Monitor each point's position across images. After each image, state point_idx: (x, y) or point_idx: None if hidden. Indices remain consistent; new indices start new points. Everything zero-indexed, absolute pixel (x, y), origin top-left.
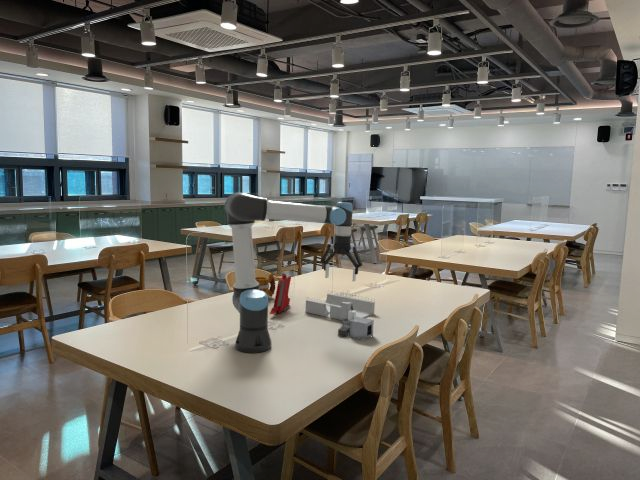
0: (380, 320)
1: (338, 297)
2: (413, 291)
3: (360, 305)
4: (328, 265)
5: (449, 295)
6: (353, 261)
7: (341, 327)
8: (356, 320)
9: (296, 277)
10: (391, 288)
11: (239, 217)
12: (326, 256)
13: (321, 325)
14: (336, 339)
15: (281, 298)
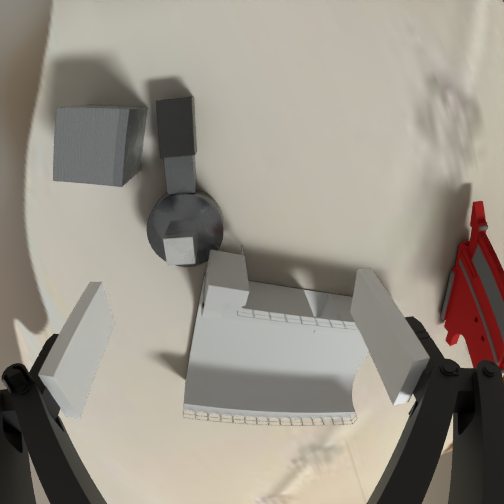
0: (137, 335)
1: (315, 409)
2: (191, 499)
3: (230, 394)
4: (395, 379)
5: (125, 493)
6: (32, 443)
7: (190, 132)
8: (106, 129)
9: None
10: (237, 500)
11: None
12: (463, 454)
13: (302, 188)
14: (183, 54)
15: (481, 282)
